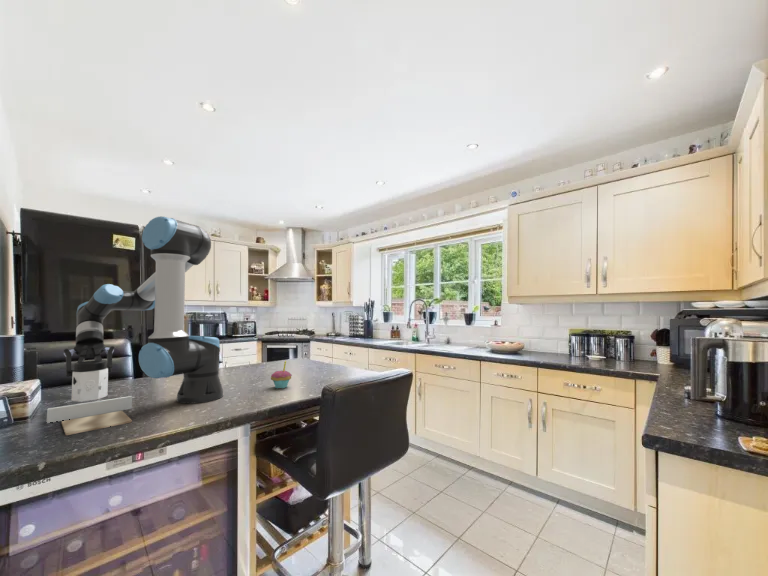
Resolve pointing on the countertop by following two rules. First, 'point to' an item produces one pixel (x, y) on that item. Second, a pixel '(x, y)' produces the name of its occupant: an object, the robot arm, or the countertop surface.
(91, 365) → the jar
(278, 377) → the cupcake
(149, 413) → the countertop surface
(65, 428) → the oak board
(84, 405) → the acrylic wall
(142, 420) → the countertop surface
